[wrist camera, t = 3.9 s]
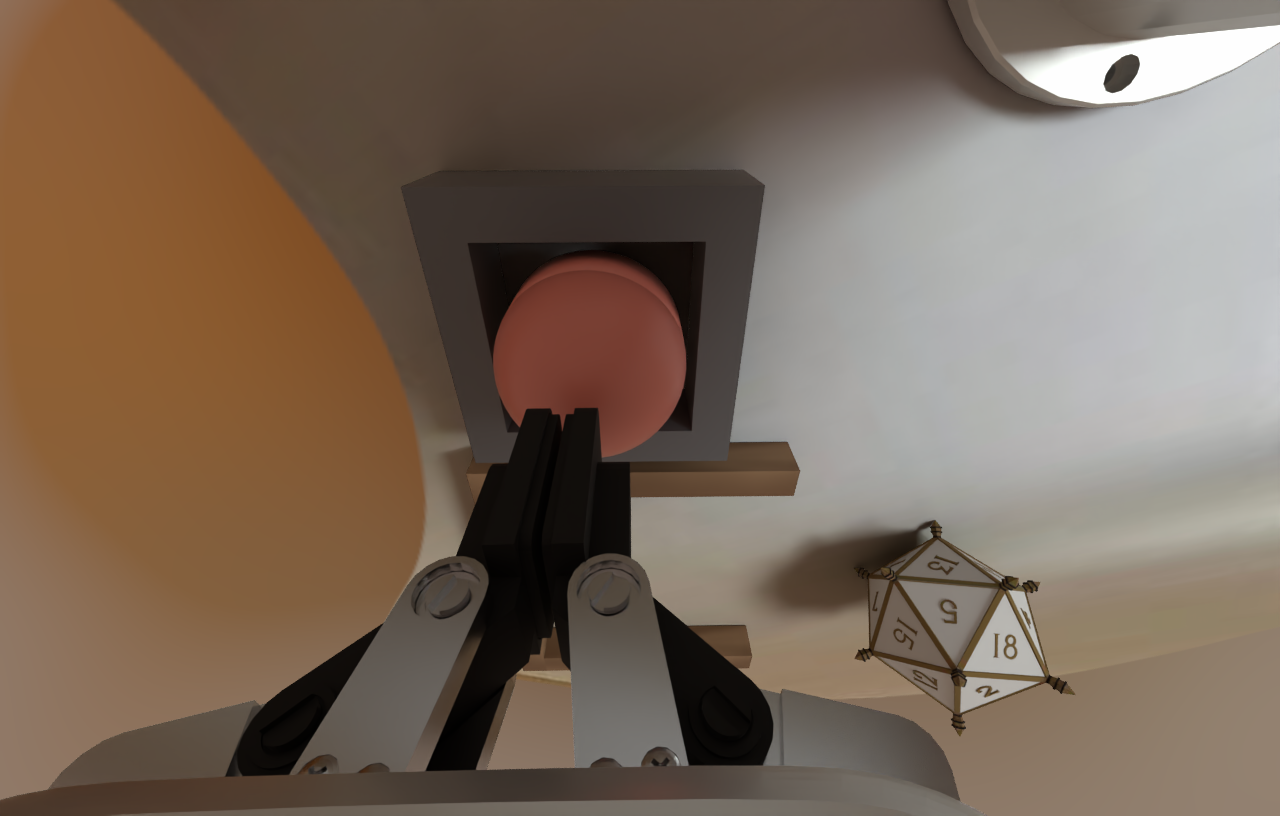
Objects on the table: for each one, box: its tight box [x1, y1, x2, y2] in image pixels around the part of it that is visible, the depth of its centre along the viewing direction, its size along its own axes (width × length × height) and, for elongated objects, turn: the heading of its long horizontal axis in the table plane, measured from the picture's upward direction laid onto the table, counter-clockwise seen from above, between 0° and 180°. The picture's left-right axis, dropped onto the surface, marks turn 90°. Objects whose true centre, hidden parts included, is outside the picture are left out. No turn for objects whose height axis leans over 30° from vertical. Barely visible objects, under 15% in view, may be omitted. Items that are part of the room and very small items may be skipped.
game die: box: [854, 520, 1075, 736], centre depth 23 cm, size 9×8×10 cm
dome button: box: [493, 250, 686, 458], centre depth 15 cm, size 6×6×6 cm
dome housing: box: [401, 170, 765, 463], centre depth 17 cm, size 10×10×3 cm
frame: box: [466, 442, 800, 671], centre depth 26 cm, size 17×14×2 cm
